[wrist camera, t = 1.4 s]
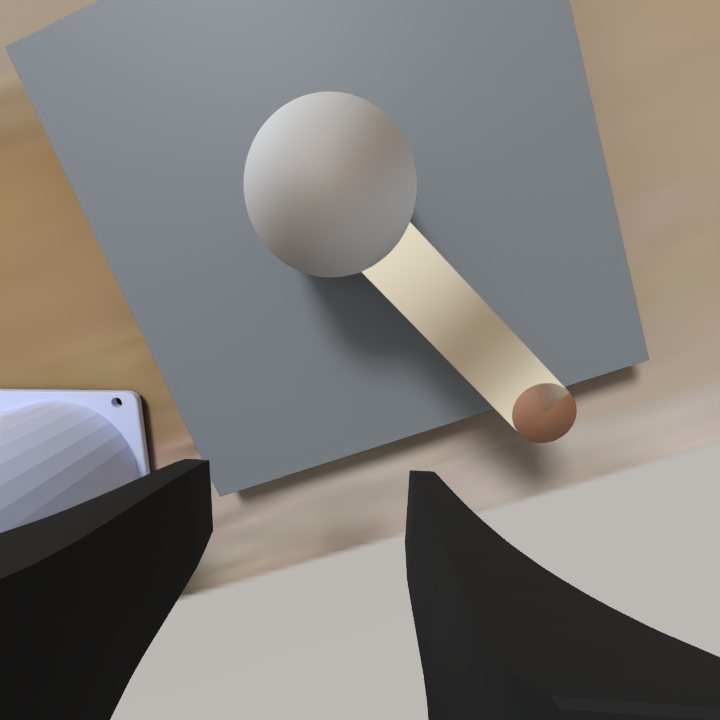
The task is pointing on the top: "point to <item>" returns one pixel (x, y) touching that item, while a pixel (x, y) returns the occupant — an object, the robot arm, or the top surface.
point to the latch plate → (354, 292)
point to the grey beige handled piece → (387, 245)
